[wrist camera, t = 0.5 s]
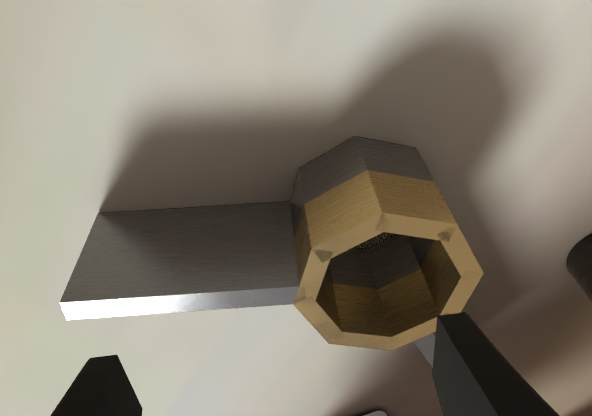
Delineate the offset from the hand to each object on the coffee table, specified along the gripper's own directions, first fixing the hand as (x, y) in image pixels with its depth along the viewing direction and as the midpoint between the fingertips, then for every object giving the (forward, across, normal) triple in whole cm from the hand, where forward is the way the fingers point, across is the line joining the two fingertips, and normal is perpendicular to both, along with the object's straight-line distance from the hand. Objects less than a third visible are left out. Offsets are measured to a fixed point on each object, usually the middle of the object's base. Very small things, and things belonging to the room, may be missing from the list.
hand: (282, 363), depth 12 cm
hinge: (+10, -2, +6) cm, 12 cm away
